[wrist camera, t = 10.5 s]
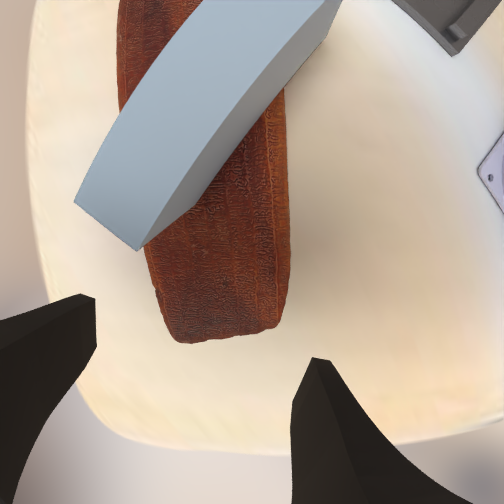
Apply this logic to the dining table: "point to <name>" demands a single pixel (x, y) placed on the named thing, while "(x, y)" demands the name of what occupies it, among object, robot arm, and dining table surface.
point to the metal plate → (450, 19)
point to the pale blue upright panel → (197, 109)
